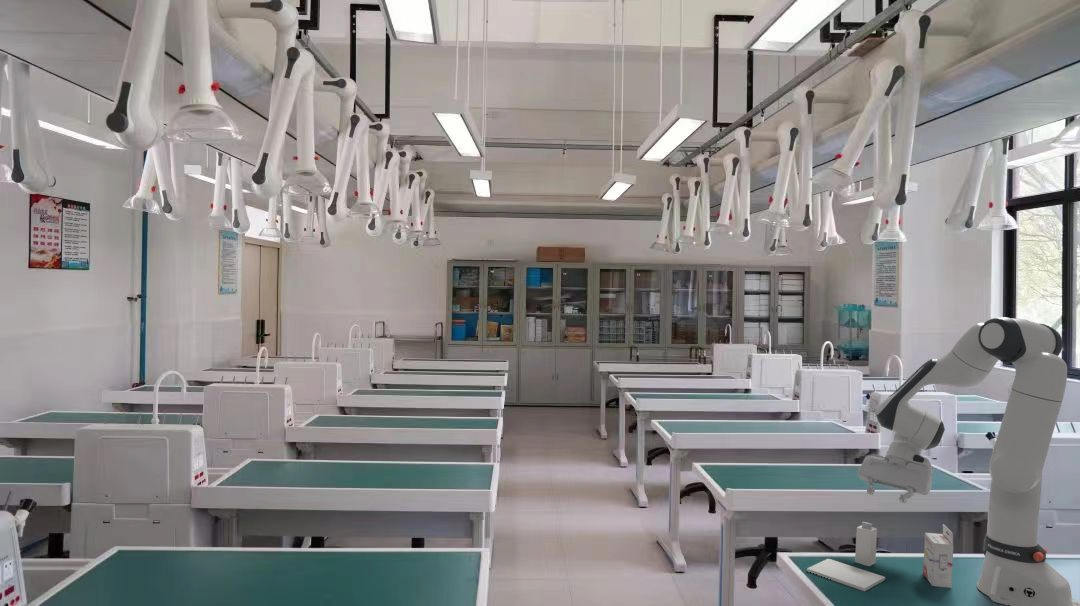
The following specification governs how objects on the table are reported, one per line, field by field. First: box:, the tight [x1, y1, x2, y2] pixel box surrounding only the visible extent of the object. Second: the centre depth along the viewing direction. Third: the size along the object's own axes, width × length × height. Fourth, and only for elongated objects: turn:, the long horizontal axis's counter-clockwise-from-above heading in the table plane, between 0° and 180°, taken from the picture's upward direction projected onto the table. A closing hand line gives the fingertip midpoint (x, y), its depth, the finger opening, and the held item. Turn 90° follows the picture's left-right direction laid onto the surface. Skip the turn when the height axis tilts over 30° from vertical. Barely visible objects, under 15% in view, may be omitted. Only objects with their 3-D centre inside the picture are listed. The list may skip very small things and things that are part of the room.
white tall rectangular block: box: [854, 521, 878, 567], centre depth 208 cm, size 4×4×11 cm
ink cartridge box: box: [922, 523, 954, 589], centre depth 196 cm, size 9×5×15 cm, turn 168°
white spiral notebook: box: [806, 558, 886, 592], centre depth 198 cm, size 16×12×1 cm
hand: (885, 497), depth 215 cm, fingers open, 8 cm apart
